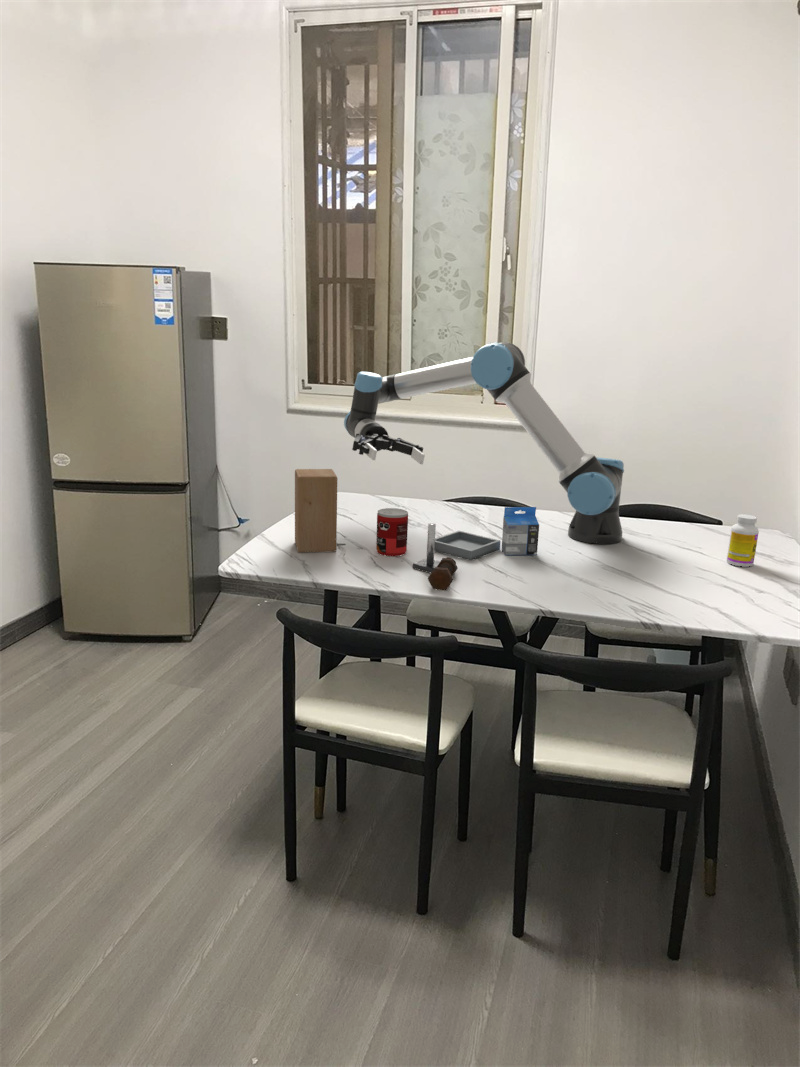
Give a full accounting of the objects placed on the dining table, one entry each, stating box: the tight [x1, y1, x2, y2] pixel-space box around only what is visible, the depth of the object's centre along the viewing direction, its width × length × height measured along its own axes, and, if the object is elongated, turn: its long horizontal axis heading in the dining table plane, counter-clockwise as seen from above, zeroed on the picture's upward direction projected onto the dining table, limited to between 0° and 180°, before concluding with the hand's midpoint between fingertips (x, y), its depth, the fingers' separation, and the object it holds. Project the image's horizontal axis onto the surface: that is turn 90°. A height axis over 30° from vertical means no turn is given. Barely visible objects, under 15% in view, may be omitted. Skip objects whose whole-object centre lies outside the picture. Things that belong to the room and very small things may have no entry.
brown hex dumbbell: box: [427, 556, 458, 591], centre depth 186 cm, size 6×5×15 cm
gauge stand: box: [412, 522, 441, 574], centre depth 193 cm, size 6×6×11 cm
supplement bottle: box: [725, 513, 760, 568], centre depth 206 cm, size 7×7×13 cm
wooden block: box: [294, 468, 338, 553], centre depth 205 cm, size 10×10×20 cm
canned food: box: [375, 507, 409, 557], centre depth 204 cm, size 8×8×11 cm
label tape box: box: [501, 506, 540, 556], centre depth 208 cm, size 9×4×12 cm, turn 99°
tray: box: [434, 530, 502, 562], centre depth 210 cm, size 14×14×3 cm
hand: (399, 457), depth 205 cm, fingers open, 13 cm apart
